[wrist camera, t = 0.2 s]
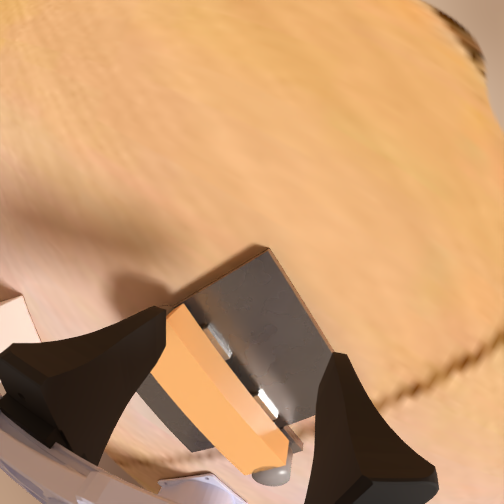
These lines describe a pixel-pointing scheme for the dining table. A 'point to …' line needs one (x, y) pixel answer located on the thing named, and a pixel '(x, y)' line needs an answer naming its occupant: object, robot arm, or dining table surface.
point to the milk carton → (16, 323)
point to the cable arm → (220, 401)
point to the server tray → (254, 347)
